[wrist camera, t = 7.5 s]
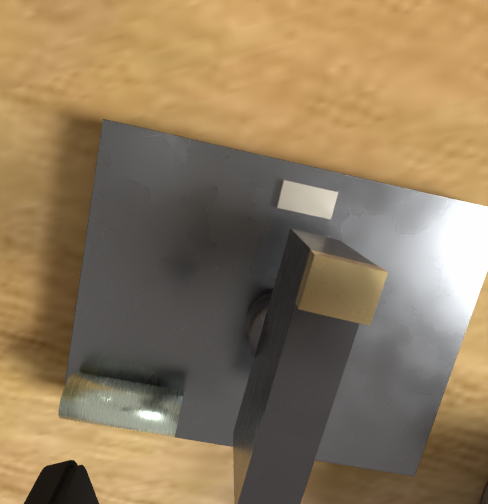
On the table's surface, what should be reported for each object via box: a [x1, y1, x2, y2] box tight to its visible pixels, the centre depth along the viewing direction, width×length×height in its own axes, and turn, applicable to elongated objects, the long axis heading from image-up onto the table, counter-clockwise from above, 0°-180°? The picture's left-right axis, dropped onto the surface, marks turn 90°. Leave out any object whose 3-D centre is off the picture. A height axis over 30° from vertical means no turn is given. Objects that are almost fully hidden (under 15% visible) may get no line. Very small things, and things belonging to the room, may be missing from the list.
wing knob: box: [233, 228, 388, 504], centre depth 15 cm, size 9×3×7 cm, turn 166°
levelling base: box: [59, 119, 488, 476], centre depth 19 cm, size 18×14×4 cm
